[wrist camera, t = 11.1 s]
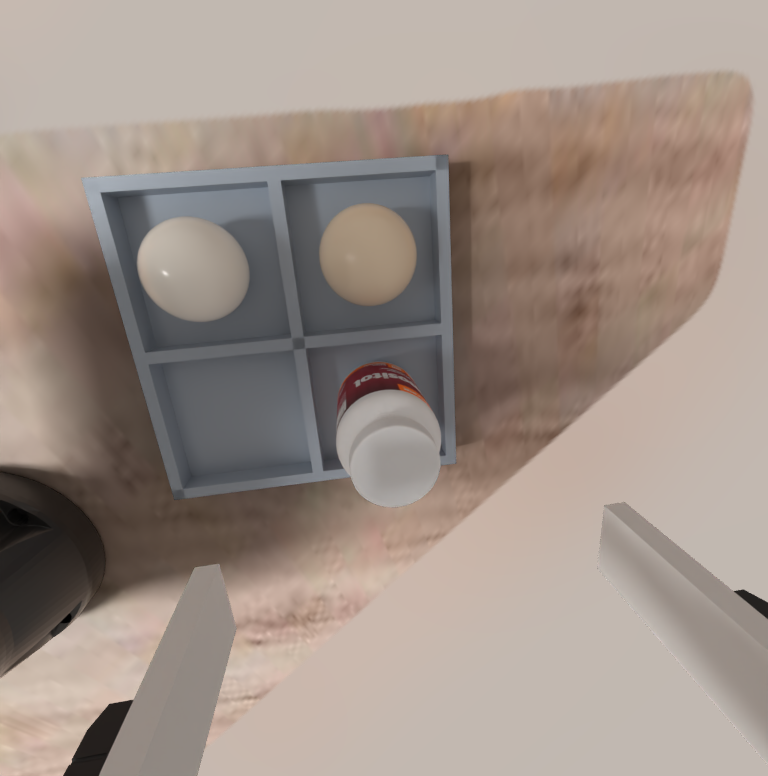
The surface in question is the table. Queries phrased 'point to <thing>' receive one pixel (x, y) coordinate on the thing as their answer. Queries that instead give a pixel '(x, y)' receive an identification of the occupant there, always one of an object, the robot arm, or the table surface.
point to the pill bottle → (387, 435)
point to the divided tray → (277, 316)
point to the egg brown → (367, 254)
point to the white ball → (193, 269)
